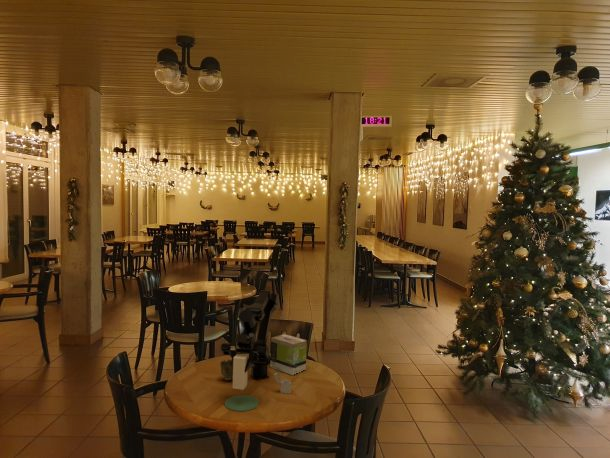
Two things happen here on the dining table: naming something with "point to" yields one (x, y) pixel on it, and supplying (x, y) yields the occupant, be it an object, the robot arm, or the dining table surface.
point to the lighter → (283, 384)
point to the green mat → (241, 403)
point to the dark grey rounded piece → (227, 369)
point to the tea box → (288, 354)
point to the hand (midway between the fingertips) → (239, 371)
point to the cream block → (239, 371)
